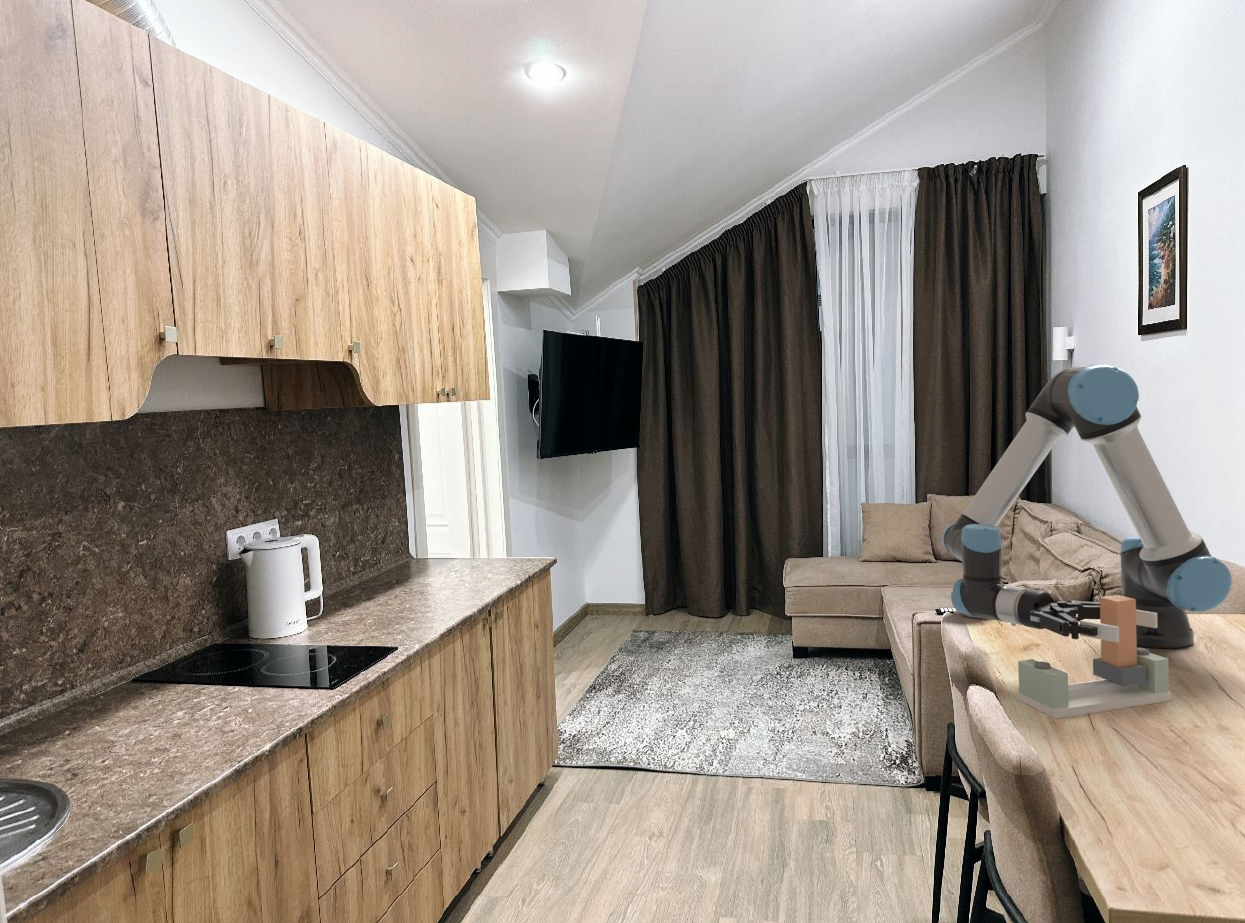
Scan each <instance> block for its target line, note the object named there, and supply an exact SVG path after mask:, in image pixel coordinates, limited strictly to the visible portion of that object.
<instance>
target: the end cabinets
mask: <svg viewBox="0 0 1245 923" xmlns="http://www.w3.org/2000/svg"><path fill="white" fill-rule="evenodd" d="M1017 663H1018V664H1017V666H1018V669H1017V670H1018V692H1019V693H1021V694H1023V695H1025V696H1027V697H1029V698H1031V699H1033V700H1035V701H1037V702H1040V703H1042V704H1044V705H1046V706H1048V707H1050V708H1052V709H1059V708H1065V707H1069V702H1068V684H1069V674H1068V672H1066V671H1063V670H1061V669H1058V668H1055V667H1054V666H1051V664H1050V662H1048V661H1038V660H1035V659H1033V658H1032V659H1031V658H1030V659H1023V660H1018V662H1017ZM1137 663H1138V664H1141V665H1144V666H1146V683H1140V684H1139V688H1142V689H1144V690H1147V691H1150V692H1152V693H1162V692H1168V691H1169V692H1170V680H1169V678H1170V676H1169V671H1170V670H1169V666H1170V665H1169V658H1168V657H1164V656H1162V655H1159V654H1155V653H1152V652H1150V650H1149V649H1147V648H1146V647H1144V648H1143V647H1137Z"/></svg>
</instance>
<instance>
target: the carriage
mask: <svg viewBox="0 0 1245 923" xmlns="http://www.w3.org/2000/svg"><path fill="white" fill-rule="evenodd" d="M1099 603H1100V619H1099V621H1100V622H1099V623H1101V624H1107V625H1112V626H1118V627H1119V642H1117V643H1116V642H1111V641H1106V640H1101V639H1100V657H1097V658H1092V674H1093V676H1095V677H1098V678H1101V679H1106V680H1108V681H1111V682H1113V683H1116V684H1119V685H1121V686H1127V685H1134V684H1140V683H1146V666H1144V665H1141V664H1138V663H1137V648H1138V645H1137V641H1136V599H1133V598H1129V597H1125V596H1122V594H1121V595H1120V594H1113V595H1106V596H1100V597H1099Z"/></svg>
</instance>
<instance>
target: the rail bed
mask: <svg viewBox="0 0 1245 923" xmlns="http://www.w3.org/2000/svg"><path fill="white" fill-rule="evenodd" d="M1016 694H1017V701H1019V700H1020V701H1019V702H1021V701H1022V702H1021V703H1023V702H1024V703H1023V704H1025V703H1026V704H1025V705H1027V704H1028V705H1027V706H1029V705H1030V706H1029V707H1031V706H1032V708H1033V707H1034V708H1033V709H1035V708H1036V710H1037V709H1039V710H1040V712H1041V711H1042V713H1043V712H1044V714H1046V715H1048V716H1049V717H1052V718H1053V719H1056V720H1057V719H1064V718H1067V717H1074V716H1075V717H1076V716H1080V715H1081V716H1082V715H1087V714H1094V713H1100V712H1101V713H1102V712H1106V711H1113V710H1119V708H1120V709H1125V708H1131V707H1132V706H1133V707H1138V706H1143V705H1144V706H1145V705H1150V704H1158V703H1164V702H1169V701H1172V692H1171V691H1170V690H1169V691H1168V692H1162V693H1152V692H1150V691H1147V690H1144V689H1142V688H1139V684H1134V685H1127V686H1121V685H1119V684H1116V683H1113V682H1111V681H1108V680H1106V679H1103V678H1101V679H1096V680H1089V681H1084V682H1083V681H1082V682H1074V683H1068V702H1069V707H1065V708H1059V709H1052V708H1050V707H1048V706H1046V705H1044V704H1042V703H1040V702H1037V701H1035V700H1033V699H1031V698H1029V697H1027V696H1025V695H1023V694H1021V693H1019V691H1017V693H1016ZM1133 707H1132V708H1133ZM1039 710H1038V711H1039Z"/></svg>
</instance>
